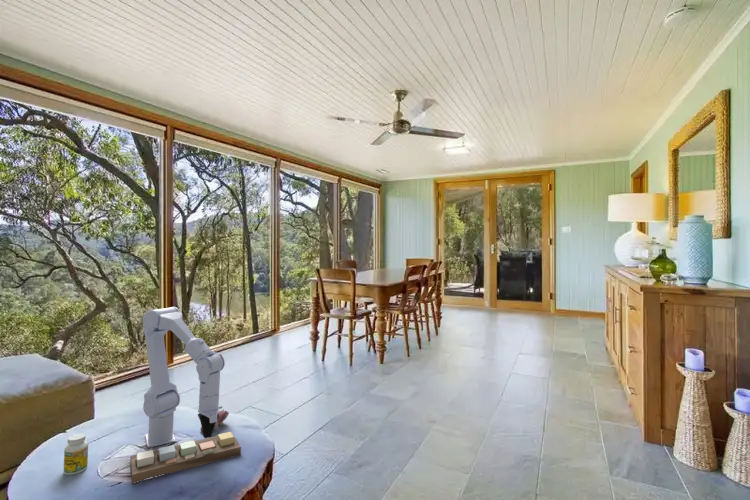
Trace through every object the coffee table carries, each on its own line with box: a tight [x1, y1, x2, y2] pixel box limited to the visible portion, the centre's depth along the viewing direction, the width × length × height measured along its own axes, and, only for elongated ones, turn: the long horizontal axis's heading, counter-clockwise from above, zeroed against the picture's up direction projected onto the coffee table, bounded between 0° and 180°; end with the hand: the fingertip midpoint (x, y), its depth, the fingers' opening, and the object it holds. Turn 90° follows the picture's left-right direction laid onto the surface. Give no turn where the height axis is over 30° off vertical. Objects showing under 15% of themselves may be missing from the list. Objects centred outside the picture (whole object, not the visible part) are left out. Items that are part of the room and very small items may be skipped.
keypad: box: [129, 431, 242, 484], centre depth 116 cm, size 11×29×3 cm, turn 125°
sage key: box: [179, 439, 196, 456], centre depth 116 cm, size 4×4×3 cm
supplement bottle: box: [63, 433, 89, 476], centre depth 108 cm, size 5×5×10 cm
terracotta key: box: [199, 441, 215, 451], centre depth 119 cm, size 4×4×3 cm
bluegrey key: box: [158, 444, 176, 462], centre depth 113 cm, size 4×4×3 cm
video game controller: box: [200, 409, 230, 433], centre depth 137 cm, size 10×5×7 cm, turn 169°
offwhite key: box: [136, 449, 154, 468], centre depth 110 cm, size 4×4×3 cm
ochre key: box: [217, 431, 235, 447], centre depth 123 cm, size 4×4×3 cm
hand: (207, 436), depth 119 cm, fingers closed
